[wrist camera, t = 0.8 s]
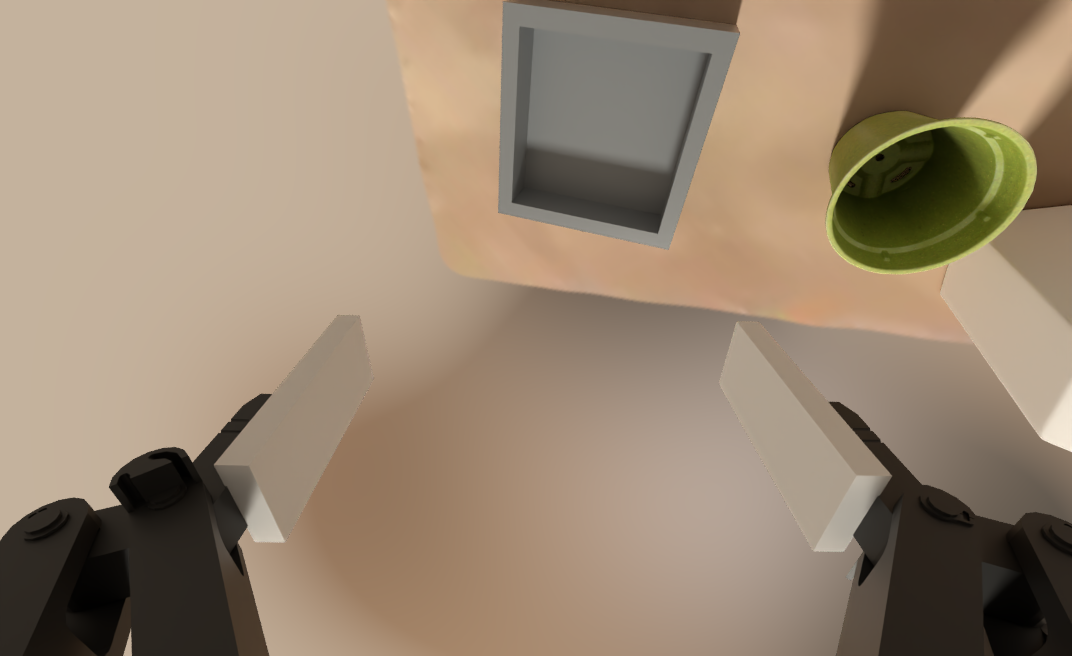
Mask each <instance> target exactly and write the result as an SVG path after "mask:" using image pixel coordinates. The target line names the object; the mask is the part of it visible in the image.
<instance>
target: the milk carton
mask: <svg viewBox="0 0 1072 656" xmlns="http://www.w3.org/2000/svg"><path fill="white" fill-rule="evenodd" d="M940 295H941V296H942V298H943V299H944V301H945V302H946V303H947V305H948V306H949V308H950V309H951V311H952V312H953V313H954V315H955V316H956V318H957V319H958V321H959V322H960V324H961V325H962V326H963V328H964V329H965V331H966V332H967V334H968V335H969V337H970V338H971V339H972V341H973V342H974V344H975V345H976V347H977V348H978V349H979V351H980V352H981V354H982V355H983V357H984V358H985V359H986V361H987V362H988V364H989V365H990V367H991V368H992V370H993V371H994V372H995V374H996V375H997V377H998V378H999V380H1000V381H1001V383H1002V384H1003V385H1004V387H1005V388H1006V390H1007V391H1008V393H1009V394H1010V395H1011V397H1012V398H1013V400H1014V401H1015V403H1016V404H1017V406H1018V407H1019V408H1020V410H1021V411H1022V413H1023V414H1024V416H1025V417H1026V418H1027V420H1028V421H1029V423H1030V424H1031V426H1032V427H1033V428H1034V429H1035V431H1036V432H1037V434H1038V435H1039V436H1040V438H1041V439H1043V440H1045V441H1047V442H1049V443H1052V444H1054V445H1056V446H1059V447H1062V448H1064V449H1066V450H1069V451H1071V452H1072V205H1068V206H1058V207H1049V208H1039V209H1030V210H1022V211H1021V212H1020V213H1019V214H1018V216H1017V217H1016V218H1015V219H1014V221H1012V222H1011V224H1010V225H1009V226H1008V227H1007V228H1006V229H1005V230H1004V231H1003V232H1002V233H1001V234H999V235H998V236H997V237H996V238H994V239H993V240H992V241H990V242H989V243H988V244H986V245H984V246H983V247H981V248H980V249H978V250H976V251H975V252H973V253H971V254H969V255H967V256H965V257H964V258H961V259H960V260H957V261H955V262H952V263H950V264H949V265H948V268H947V271H946V274H945V278H944V281H943V284H942V287H941V291H940Z"/></svg>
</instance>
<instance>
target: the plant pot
mask: <svg viewBox="0 0 1072 656" xmlns="http://www.w3.org/2000/svg"><path fill="white" fill-rule="evenodd" d="M917 133H920V134H918V135H916V134H917ZM878 154H883V155H884V159H883V160H881V161H877V160H876V159H875V158H876V156H877V155H878ZM908 167H911V170H910V172H909V173H908V174H907V175H906V176H904V177H903V178H901V179H900V180H898V181H896V182H890V181H891V180H892V179H893V178H894V177H896V176H898V175H899V174H901V173H902V172H903V171H904V170H905V169H906V168H908ZM829 176H830V183H831V190H832V196H831V199H830V201H829V204H828V208H827V212H826V232H827V236H828V239H829V241H830V243H831V245H832V247H833V248H834V250H835V251H836V252H837V253H838V255H839V256H840V257H842V258H843V259H844V260H846V261H847V262H848V263H850V264H852V265H854V266H856V267H858V268H861V269H863V270H866V271H870V272H874V273H882V274H909V273H917V272H923V271H927V270H931V269H935V268H938V267H941V266H944V265H947V264H950V263H952V262H955V261H957V260H960V259H961V258H964V257H965V256H967V255H969V254H971V253H973V252H975V251H976V250H978V249H980V248H981V247H983V246H984V245H986V244H988V243H989V242H990V241H992V240H993V239H994V238H996V237H997V236H998V235H999V234H1001V233H1002V232H1003V231H1004V230H1005V229H1006V228H1007V227H1008V226H1009V225H1010V224H1011V222H1012V221H1014V219H1015V218H1016V217H1017V216H1018V214H1019V213H1020V212H1021V211H1022V209H1023V208H1024V206H1025V204H1026V202H1027V201H1028V199H1029V197H1030V195H1031V193H1032V192H1033V189H1034V185H1035V181H1036V176H1037V162H1036V157H1035V154H1034V151H1033V149H1032V147H1031V146H1030V144H1029V143H1028V141H1027V140H1026V139H1025V138H1024V137H1023V136H1022V135H1021V134H1019V133H1018V132H1017V131H1015V130H1014V129H1012V128H1010V127H1008V126H1006V125H1003V124H1001V123H999V122H995V121H991V120H986V119H980V118H965V117H964V118H949V119H942V120H938V119H934V118H930V117H927V116H924V115H920V114H916V113H913V112H909V111H893V112H887V113H882V114H878V115H874V116H871V117H869V118H867V119H865V120H863V121H861V122H860V123H858V124H857V125H855V126H854V127H853V128H851V129H850V130H849V131H848V132H847V133H846V134H845V135H844V136H843V137H842V138H841V139H840V140H839V142H838V143H837V145H836V146H835V148H834V150H833V152H832V155H831V159H830V163H829ZM848 181H851V182H852V183H854V184H855V187H850V186H848V185H847V182H848Z"/></svg>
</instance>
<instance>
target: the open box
mask: <svg viewBox="0 0 1072 656" xmlns="http://www.w3.org/2000/svg"><path fill="white" fill-rule="evenodd" d="M739 35H740V32H739V30H738V27H737V25H735V24H727V23H720V22H712V21H704V20H697V19H689V18H681V17H674V16H666V15H658V14H651V13H643V12H635V11H628V10H620V9H612V8H605V7H597V6H589V5H582V4H574V3H566V2H559V1H551V0H508V1H504V2H503V27H502V71H501V115H500V159H499V203H498V213H502V214H507V215H511V216H516V217H520V218H525V219H529V220H534V221H539V222H543V223H548V224H552V225H557V226H561V227H566V228H571V229H575V230H580V231H584V232H589V233H594V234H598V235H603V236H607V237H612V238H616V239H621V240H626V241H630V242H635V243H639V244H644V245H649V246H653V247H658V248H662V249H667V250H669V247H670V244H671V241H672V238H673V235H674V232H675V229H676V226H677V223H678V220H679V217H680V214H681V211H682V208H683V205H684V202H685V199H686V196H687V193H688V190H689V187H690V184H691V181H692V177H693V174H694V171H695V168H696V165H697V162H698V159H699V156H700V153H701V150H702V147H703V144H704V141H705V138H706V135H707V132H708V129H709V126H710V123H711V120H712V117H713V114H714V111H715V108H716V105H717V102H718V99H719V96H720V93H721V90H722V87H723V84H724V81H725V77H726V74H727V71H728V68H729V65H730V62H731V59H732V56H733V53H734V50H735V47H736V44H737V41H738V38H739Z"/></svg>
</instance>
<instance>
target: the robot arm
mask: <svg viewBox="0 0 1072 656" xmlns="http://www.w3.org/2000/svg"><path fill="white" fill-rule="evenodd" d="M373 379H374V377H373V373H372V368H371V364H370V359H369V355H368V350H367V346H366V342H365V337H364V333H363V329H362V324H361V319H360V316H353V315H352V316H351V315H337V317H336V318H335V319H334V320H333V322H332V323H331V324H330V325H329V326H328V328H327V329H326V330H325V331H324V332H323V334H322V335H321V336H320V337H319V339H318V340H317V341H316V342H315V343H314V345H313V346H312V347H311V348H310V349H309V351H308V352H307V353H306V354H305V355H304V357H303V358H302V359H301V360H300V361H299V363H298V364H297V365H296V366H295V367H294V369H293V370H292V371H291V372H290V373H289V375H288V376H287V377H286V378H285V379H284V381H283V382H282V383H281V384H280V386H279V387H278V388H277V389H276V390H275V392H274V393H273V394H260V395H258V396H257V397H255V398H254V399H252V400H251V401H249V402H248V403H246V404H245V405H243V406H242V408H241V409H240V410H239V411H238V412H237V413H236V414H235V415H234V417H233V418H232V419H231V422H228V423H227V424H226V426H225V427H224V428H223V429H222V430H221V433H218V434H217V436H216V437H215V438H214V439H213V440H212V441H211V442H210V444H209V445H208V446H207V447H206V448H205V449H204V450H203V451H202V453H201V454H200V455H199V456H198V457H197V458H196V459H195V460H194V462H193V463H192V461H191V460H190V458H189V456H188V455H187V453H186V452H185V451H184V450H183V449H180V448H176V447H172V448H162V449H158V450H154V451H151V452H148V453H146V454H143V455H141V456H139V457H137V458H135V459H133V460H132V461H130V462H129V463H128V464H126V465H125V466H123V467H122V468H121V469H120V470H119V471H118V472H117V473H116V474H115V475H114V477H113V478H112V480H111V483H110V486H109V488H110V489H111V491H112V492H113V493H114V495H115V496H116V497H117V499H118V500H119V501H120V503H121V504H122V505H119V506H114V507H110V508H106V509H101V510H97V511H94V510H93V509H92V508H91V507H90V505H89V504H88V503H87V502H86V501H85V500H84V499H80V498H68V499H63V500H58V501H56V502H53V503H50V504H47V505H45V506H42V507H40V508H39V509H37V510H35V511H33V512H31V513H30V514H28V515H26V516H25V517H23V518H22V519H21V520H20V521H18V522H17V523H16V524H14V525H13V526H12V527H11V528H10V529H9V530H8V532H7V533H6V534H5V535H4V536H3V537H2V539H1V541H0V656H123V654H124V651H125V647H126V644H127V640H128V637H129V633H130V629H131V637H132V656H269V653H268V650H267V646H266V642H265V638H264V634H263V631H262V626H261V622H260V619H259V615H258V611H257V607H256V603H255V599H254V595H253V591H252V588H251V584H250V580H249V576H248V572H247V568H246V564H245V560H244V557H243V553H242V549H241V548H240V546H239V544H238V540H239V539H240V537H241V536H242V534H243V533H244V531H245V530H246V528H248V530H249V532H250V534H251V536H252V538H253V540H254V542H286V540H287V538H288V537H289V535H290V533H291V531H292V529H293V527H294V526H295V524H296V522H297V520H298V518H299V516H300V515H301V513H302V511H303V509H304V507H305V505H306V503H307V502H308V500H309V498H310V496H311V494H312V492H313V490H314V489H315V487H316V485H317V483H318V481H319V479H320V478H321V476H322V474H323V472H324V470H325V468H326V466H327V465H328V463H329V461H330V459H331V457H332V455H333V453H334V452H335V450H336V448H337V446H338V444H339V442H340V441H341V439H342V437H343V435H344V433H345V431H346V429H347V428H348V425H349V424H350V422H351V420H352V418H353V416H354V415H355V413H356V411H357V409H358V407H359V405H360V404H361V402H362V400H363V398H364V396H365V394H366V392H367V391H368V389H369V387H370V385H371V383H372V381H373ZM719 386H720V387H721V389H722V391H723V393H724V394H725V396H726V398H727V400H728V402H729V403H730V405H731V407H732V409H733V410H734V412H735V414H736V416H737V418H738V419H739V421H740V423H741V425H742V426H743V428H744V430H745V432H746V434H747V435H748V437H749V439H750V441H751V442H752V444H753V446H754V448H755V449H756V451H757V453H758V455H759V456H760V458H761V460H762V462H763V464H764V465H765V467H766V469H767V471H768V472H769V474H770V476H771V478H772V480H773V481H774V483H775V485H776V487H777V488H778V490H779V492H780V494H781V496H782V497H783V499H784V501H785V502H786V504H787V506H788V508H789V510H790V511H791V513H792V515H793V517H794V519H795V520H796V522H797V524H798V526H799V527H800V529H801V531H802V533H803V534H804V536H805V538H806V540H807V541H808V543H809V545H810V547H811V549H812V550H813V551H827V552H844V551H845V549H846V547H847V546H848V545H849V543H850V541H851V540H852V538H853V537H855V539H856V540H857V542H858V543H859V545H860V546H861V548H862V549H863V553H862V554H861V556H860V557H859V559H858V560H857V562H856V563H855V565H854V566H853V567H852V569H851V570H850V572H849V573H848V575H847V576H846V578H848V579H849V580H852V578H853V577H854V579H853V583H852V588H851V592H850V597H849V601H848V605H847V610H846V614H845V618H844V623H843V627H842V632H841V636H840V640H839V645H838V650H837V654H836V656H1072V524H1071V523H1069V522H1067V521H1064V520H1061V519H1059V518H1056V517H1054V516H1051V515H1047V514H1042V513H1037V512H1034V513H1026V514H1025V515H1024V516H1023V517H1022V518H1021V519H1020V520H1019V521H1018V522H1017V523H1016V524H1015V525H1011V524H1007V523H1003V522H999V521H995V520H992V519H988V518H984V517H980V516H976V515H975V514H974V513H973V512H972V511H971V509H970V508H969V507H968V506H966V505H965V504H964V503H963V502H961V501H960V500H958V499H957V498H956V497H954V496H952V495H950V494H949V493H947V492H945V491H943V490H940V489H937V488H934V487H931V486H928V485H922V484H921V483H920V482H919V481H918V480H917V479H916V478H915V477H914V476H913V475H912V474H911V472H910V471H909V470H908V469H907V468H906V467H905V466H904V465H903V464H902V463H901V461H899V459H897V457H896V456H895V455H894V454H893V453H892V452H891V451H890V449H889V448H888V447H887V446H886V445H885V444H884V443H881V441H880V439H879V438H878V437H877V435H876V434H875V433H874V432H873V431H870V428H869V427H868V426H867V425H866V423H865V422H864V421H863V420H862V419H861V418H860V417H859V416H858V415H857V414H856V413H855V412H853V411H852V410H850V409H849V408H847V407H845V406H844V405H843V404H841V403H840V402H828V401H827V400H826V399H825V398H824V397H823V395H822V394H821V393H820V392H819V391H818V390H817V388H816V387H815V386H814V385H813V384H812V383H811V381H810V380H809V379H808V378H807V377H806V376H805V375H804V374H803V372H802V371H801V370H800V369H799V368H798V367H797V365H796V364H795V363H794V362H793V361H792V360H791V358H790V357H789V356H788V355H787V354H786V353H785V352H784V350H783V349H782V348H781V347H780V346H779V344H778V343H777V342H776V341H775V340H774V339H773V338H772V336H771V335H770V334H769V333H768V332H767V331H766V329H765V328H764V327H763V326H762V325H761V324H760V322H740V321H738V322H737V323H736V326H735V330H734V333H733V336H732V340H731V344H730V347H729V350H728V354H727V357H726V361H725V364H724V367H723V371H722V374H721V378H720V381H719Z"/></svg>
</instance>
